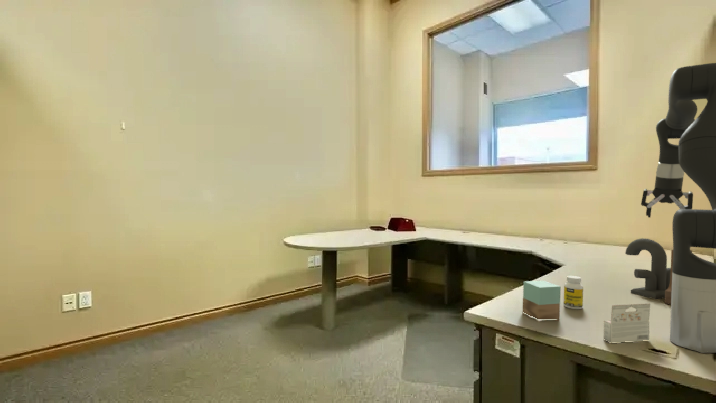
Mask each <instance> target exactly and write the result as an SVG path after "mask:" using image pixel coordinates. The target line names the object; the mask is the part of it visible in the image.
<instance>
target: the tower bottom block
mask: <svg viewBox="0 0 716 403" xmlns="http://www.w3.org/2000/svg"><path fill="white" fill-rule="evenodd" d="M560 307H561V303H560V304H546V305H538V304H536V303H534V302H531V301H529V300H527V299H525V298H523V297H522V313H523V312H524V313H526V314H528V315H530V316H533V317H535V318H537V319H559V320H560V312H561V310H560Z"/></svg>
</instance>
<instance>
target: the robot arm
mask: <svg viewBox="0 0 716 403" xmlns="http://www.w3.org/2000/svg"><path fill="white" fill-rule="evenodd" d="M695 100H706V101H707V102H706V104H705V106H704V108H703V109H702V111H701V112H700V113H699V115H698V116H697V117H696V115H697V113H698V106H697V103H696V102H695ZM695 118H696V119H695ZM655 132H656V136H657V139H658V146H659V156H658V161H657V162H658V163H657V167H656V172H655V182H654V189H653V190H651V189H648V188H644V189H643V192H642V195H641V196H642V197H641V201H640V202H641V203H640V205H641V206H642V207H646V208H645V209H646V210H645V211H646V212H645V215H646V216H647V217H648V218H651V216H652V209H653V208H652V207H653V206H654V205H656V204H657V203H661V204H665V203H667V204H671V205H672V204H674V203H675V205H676V206H677V207H678V208H679V209H678V210H676V211H675V212H674V214H673V217H672V230H671V231H672V246H673V247H672V250H673V268H672V293H671V305H670V323H669V324H670V325H669V326H670V328H669V329H670V330H669V340H670V342H672V343H673V344H674V345H677V346H678V347H682V348H685V349H688V350H692V351H696V352H699V353H701V354H703V353H704V354H706V353H707V354H708V353H709V354H711V353H712V354H715V353H716V263H715V262H712V261H708V260H706V259H704V258H701V257H700V256H698V255H696V254H695V253H693V251H692V250H691V248H702V249H703V248H704V249H716V62H710V63H703V64H694V65H687V66H682V67H678V68H676V69H675V70H674V71H672V73H671V77H670V80H669V86H668V111H667V113H666V117H665V118H662V119H660V120H659V121H658V122H656V125H655ZM669 139H670V140H673V139H675V140H676V139H679V140H678V144H672V143H671V142H669ZM685 174H686V175H687V177H688V178H689V179H690V180H692V181H693V182H694V184H696V186H698V187H699V189H701V190H702V192H703V193H704V194H705V196H706V198H707V200H708V201H709V204H710V208H711V209H696V208H694V209H693V203H694V202H693V200H694V193H693V191H687V192H686V191H685V192H683V183H684V176H685ZM650 195H652V196H653V198H652V199H651V201H649V202H647V197H649V196H650ZM683 196H684V198H685V199H687V205H684V204H683V203H682V201H681V200H680V198H682V197H683ZM690 250H691V251H692V252H691V251H690Z"/></svg>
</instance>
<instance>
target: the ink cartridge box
mask: <svg viewBox="0 0 716 403" xmlns="http://www.w3.org/2000/svg"><path fill="white" fill-rule="evenodd" d="M630 308H633V309H635V311H626V310H628V309H630ZM650 311H651V303H636V304H635V303H633V304H617V305H616V304H615V305H612V306H611V313H610V314H611V317H610V319H611V320H603V340H604V339H605V340H607V341H609V342H625V341H643V340H649V341H650Z"/></svg>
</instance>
